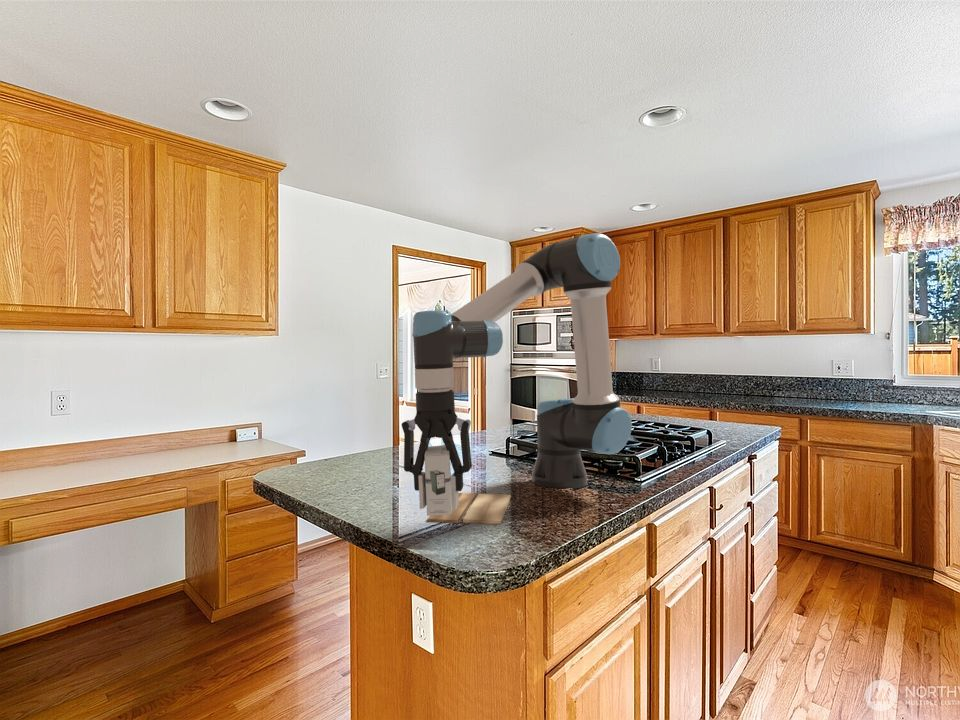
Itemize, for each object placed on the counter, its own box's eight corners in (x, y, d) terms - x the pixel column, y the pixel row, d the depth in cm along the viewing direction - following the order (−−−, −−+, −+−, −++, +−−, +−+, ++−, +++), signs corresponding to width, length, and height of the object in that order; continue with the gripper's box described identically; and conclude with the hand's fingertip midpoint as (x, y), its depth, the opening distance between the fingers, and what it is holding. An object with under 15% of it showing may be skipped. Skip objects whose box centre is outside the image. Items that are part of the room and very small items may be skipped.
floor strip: (476, 498, 125) (476, 493, 125) (459, 526, 105) (459, 519, 105) (449, 497, 126) (449, 492, 126) (427, 524, 107) (427, 518, 107)
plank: (510, 499, 123) (510, 494, 123) (500, 526, 104) (500, 520, 104) (478, 498, 124) (478, 493, 124) (463, 524, 106) (462, 518, 106)
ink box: (427, 502, 103) (425, 445, 103) (451, 500, 104) (449, 444, 103) (426, 516, 95) (423, 454, 94) (452, 514, 95) (450, 453, 95)
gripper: (485, 387, 100) (489, 501, 101) (395, 389, 104) (400, 499, 105) (478, 390, 93) (483, 514, 94) (382, 392, 96) (387, 512, 97)
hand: (439, 506), depth 99 cm, fingers closed on ink box, 6 cm apart
